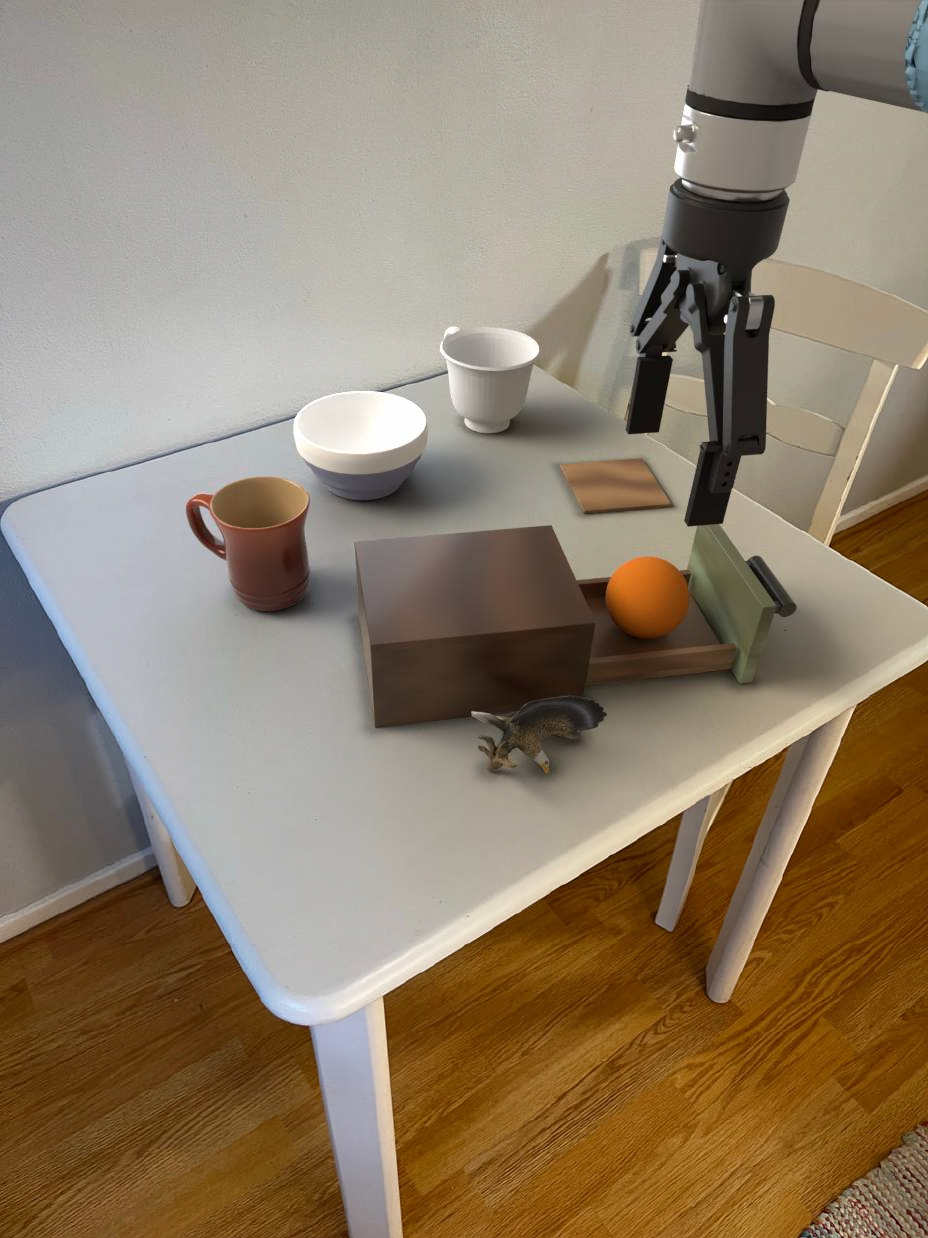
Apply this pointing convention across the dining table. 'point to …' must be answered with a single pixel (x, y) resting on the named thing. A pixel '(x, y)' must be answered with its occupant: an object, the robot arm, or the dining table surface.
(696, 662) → the drawer
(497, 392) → the teacup
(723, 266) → the robot arm
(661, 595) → the orange
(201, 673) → the dining table surface
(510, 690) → the cabinet
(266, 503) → the mug
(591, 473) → the coaster
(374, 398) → the bowl
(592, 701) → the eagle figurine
